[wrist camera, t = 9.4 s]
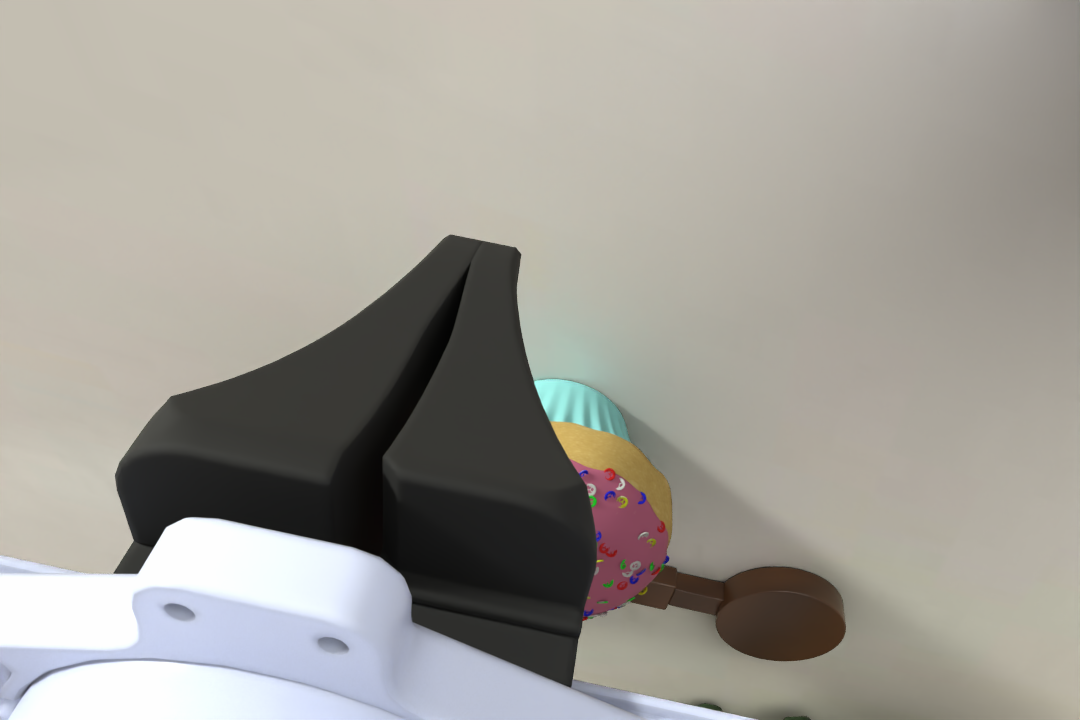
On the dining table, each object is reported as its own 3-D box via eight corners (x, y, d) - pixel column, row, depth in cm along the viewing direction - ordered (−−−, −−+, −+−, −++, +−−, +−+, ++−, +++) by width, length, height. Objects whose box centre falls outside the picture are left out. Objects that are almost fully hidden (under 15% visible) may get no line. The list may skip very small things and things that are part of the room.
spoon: (863, 583, 34) (866, 609, 34) (815, 647, 38) (818, 672, 37) (327, 462, 35) (317, 485, 34) (329, 537, 38) (320, 559, 37)
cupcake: (607, 526, 35) (567, 844, 26) (414, 444, 33) (301, 751, 24) (724, 397, 29) (725, 747, 20) (498, 292, 28) (391, 618, 19)
